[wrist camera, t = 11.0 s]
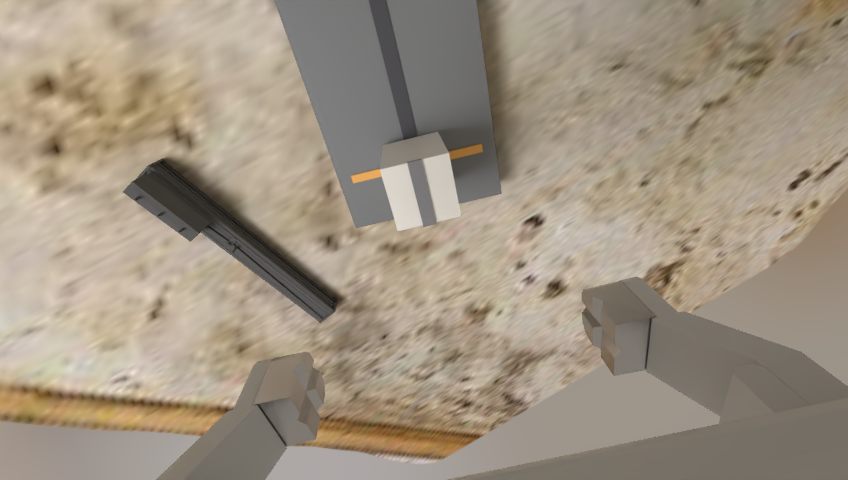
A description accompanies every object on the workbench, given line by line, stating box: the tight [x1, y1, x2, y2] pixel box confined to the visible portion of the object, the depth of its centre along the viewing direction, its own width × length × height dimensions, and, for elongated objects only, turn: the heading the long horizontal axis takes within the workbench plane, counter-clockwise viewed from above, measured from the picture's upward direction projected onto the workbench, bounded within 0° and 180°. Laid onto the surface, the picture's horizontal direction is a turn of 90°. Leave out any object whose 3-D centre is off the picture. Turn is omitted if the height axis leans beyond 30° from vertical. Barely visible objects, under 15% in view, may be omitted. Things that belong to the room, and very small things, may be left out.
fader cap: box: [380, 132, 461, 231], centre depth 24 cm, size 4×4×6 cm
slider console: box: [275, 0, 502, 228], centre depth 24 cm, size 22×12×3 cm, turn 13°
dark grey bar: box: [123, 159, 337, 323], centre depth 30 cm, size 19×3×4 cm, turn 40°
